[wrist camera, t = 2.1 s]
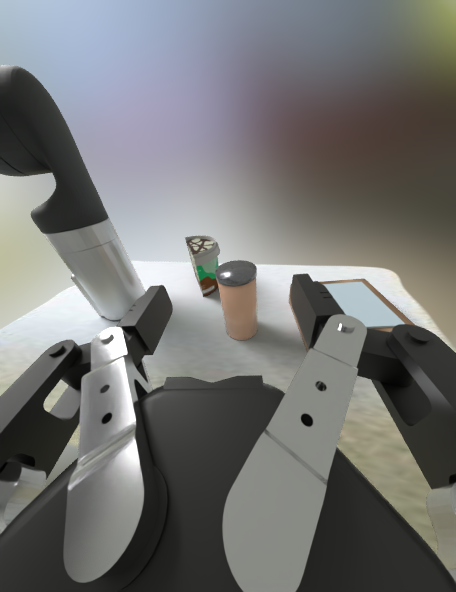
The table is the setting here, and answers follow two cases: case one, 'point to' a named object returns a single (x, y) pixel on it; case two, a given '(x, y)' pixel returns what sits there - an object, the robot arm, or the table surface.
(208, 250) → the food container
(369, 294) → the walnut riser
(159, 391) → the robot arm
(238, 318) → the terracotta canister
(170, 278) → the table surface
